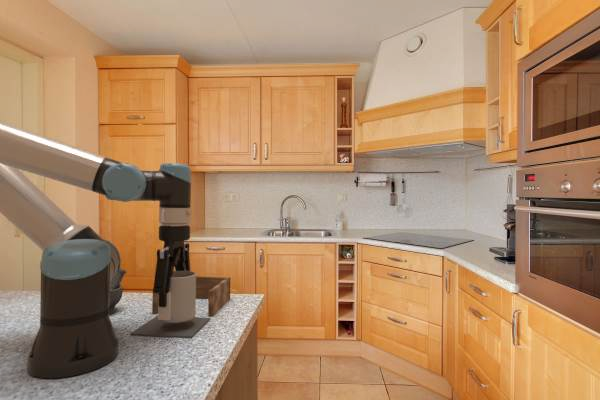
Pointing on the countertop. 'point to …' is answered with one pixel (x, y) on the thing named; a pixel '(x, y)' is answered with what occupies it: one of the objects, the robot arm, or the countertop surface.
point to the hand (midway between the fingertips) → (173, 313)
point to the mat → (171, 328)
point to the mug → (182, 296)
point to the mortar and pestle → (116, 290)
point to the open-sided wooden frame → (206, 293)
